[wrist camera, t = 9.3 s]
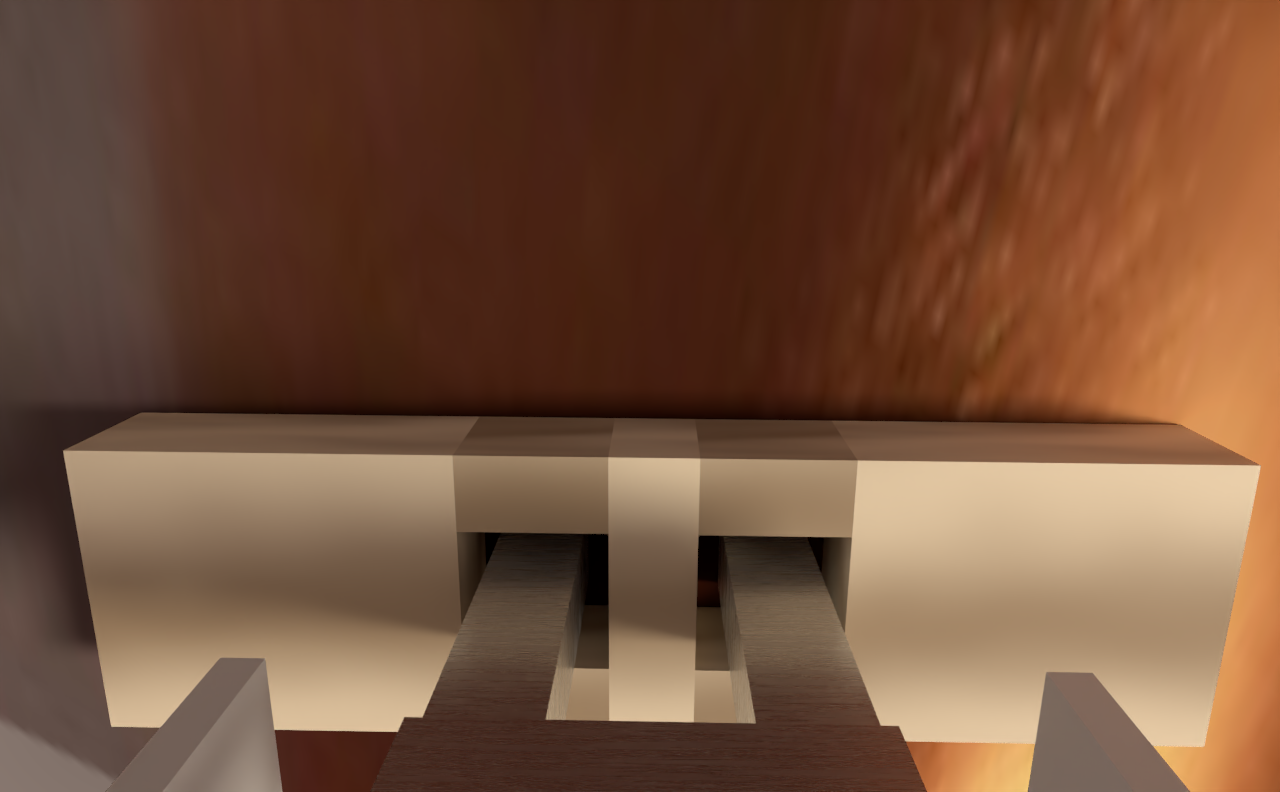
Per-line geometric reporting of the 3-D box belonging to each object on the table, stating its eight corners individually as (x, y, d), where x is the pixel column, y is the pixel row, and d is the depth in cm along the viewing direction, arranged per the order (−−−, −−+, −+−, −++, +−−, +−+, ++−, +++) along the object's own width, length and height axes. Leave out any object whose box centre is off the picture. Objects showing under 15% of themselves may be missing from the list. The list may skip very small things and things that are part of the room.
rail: (141, 412, 22) (63, 450, 19) (1180, 424, 22) (1261, 465, 19) (177, 657, 24) (111, 726, 21) (1136, 674, 23) (1204, 746, 21)
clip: (502, 502, 23) (363, 807, 12) (805, 506, 22) (938, 818, 12) (506, 586, 23) (376, 947, 13) (800, 591, 23) (922, 960, 12)
